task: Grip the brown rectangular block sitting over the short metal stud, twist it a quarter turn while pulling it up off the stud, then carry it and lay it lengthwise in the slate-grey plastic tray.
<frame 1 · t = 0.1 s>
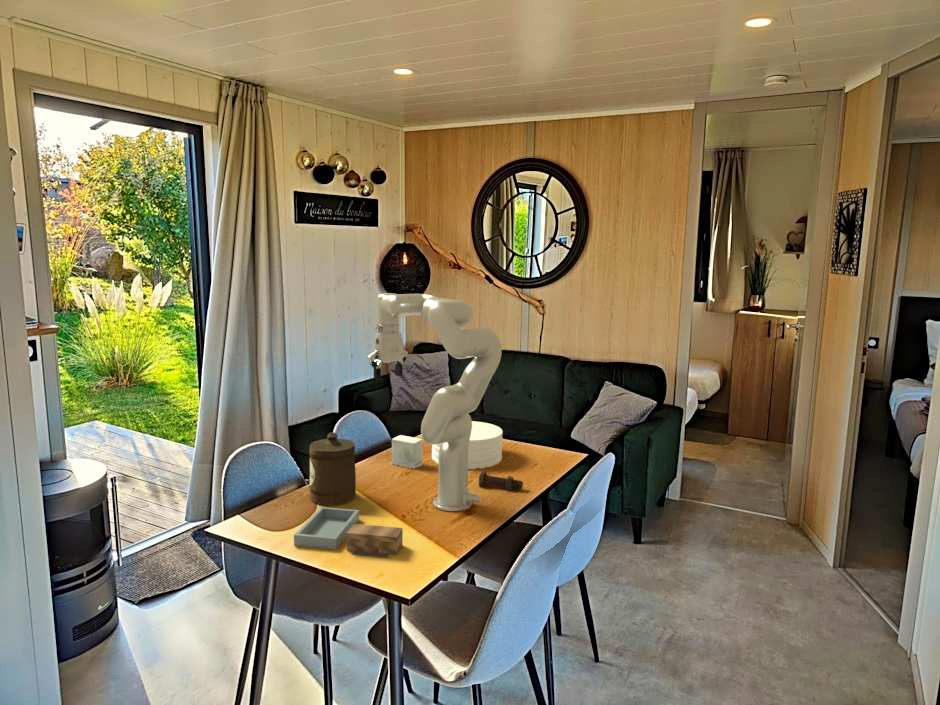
hand: (388, 377, 229), 37 cm above the table, tool pointing down, fingers open, 9 cm apart
stud base: (374, 551, 179), on the table
tray: (328, 535, 188), on the table
skincare box: (407, 465, 251), on the table
brown rectangular block: (374, 547, 179), point 1 cm above the table, touching stud base
plate stack: (466, 458, 261), on the table
bolt: (500, 489, 229), on the table
wooden container: (333, 497, 217), on the table
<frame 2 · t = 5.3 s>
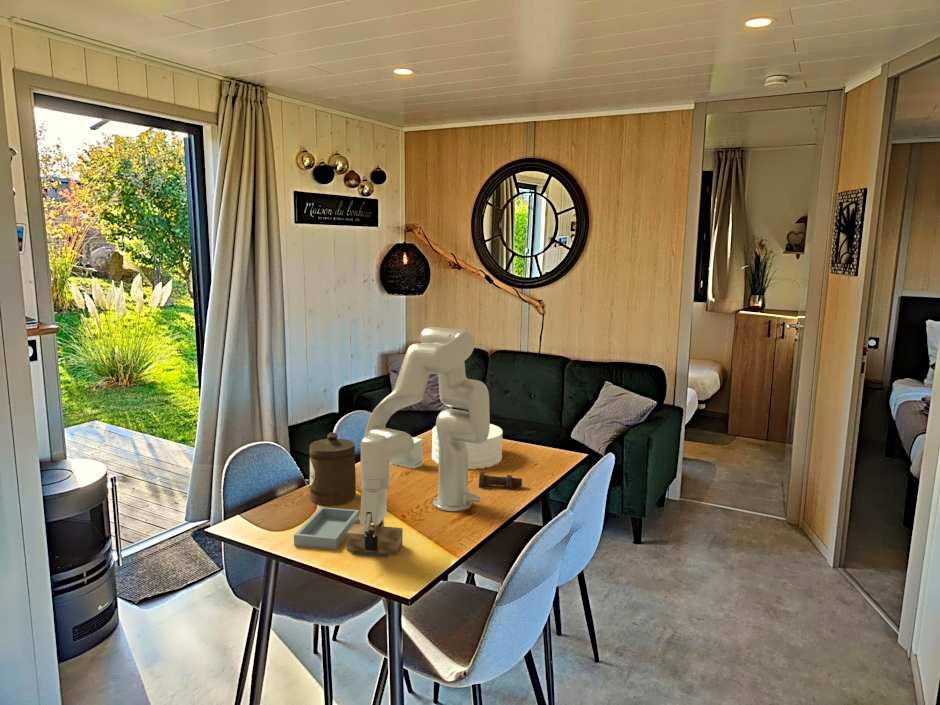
hand: (374, 543, 179), 2 cm above the table, tool pointing down, fingers closed on brown rectangular block, 6 cm apart
brown rectangular block: (374, 547, 179), point 1 cm above the table, touching gripper, stud base
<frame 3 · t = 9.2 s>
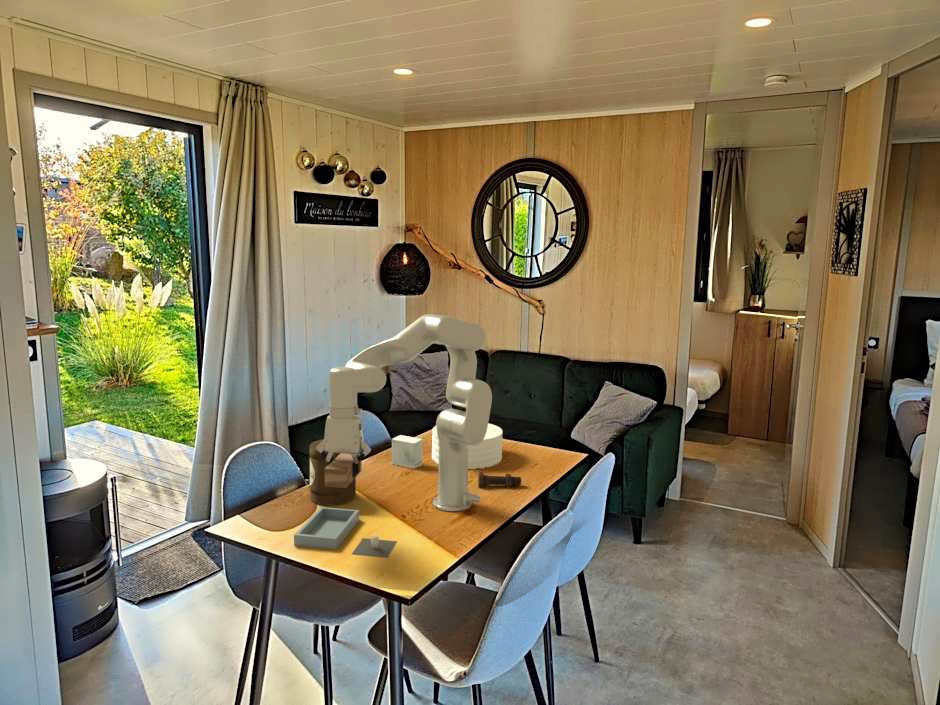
hand: (343, 474, 182), 20 cm above the table, tool pointing down, fingers closed on brown rectangular block, 6 cm apart
brown rectangular block: (343, 478, 182), point 19 cm above the table, touching gripper
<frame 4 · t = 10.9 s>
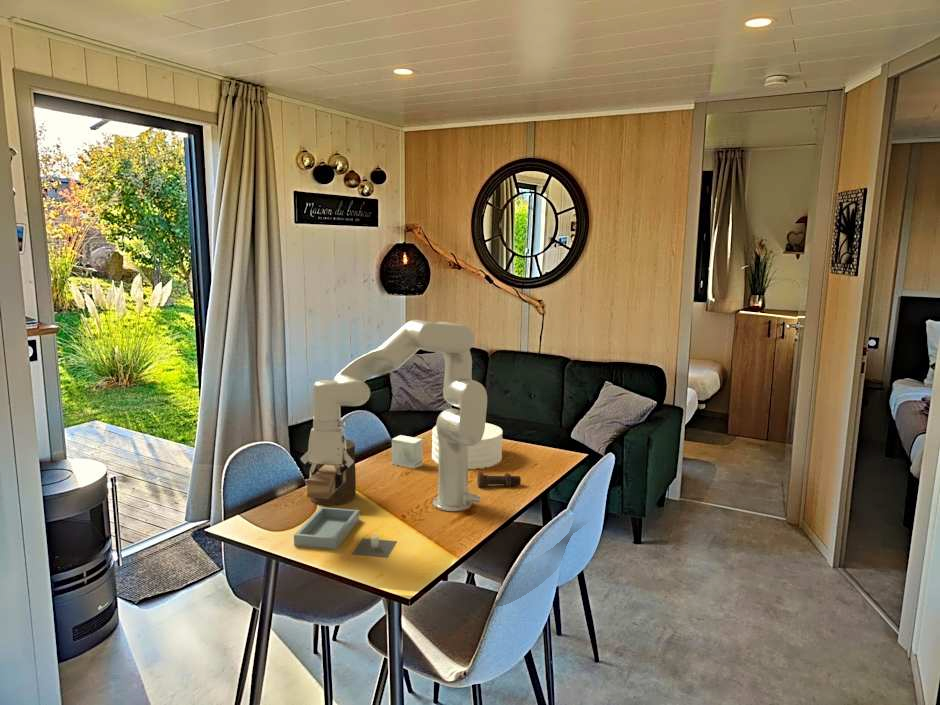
hand: (327, 485, 186), 15 cm above the table, tool pointing down, fingers closed on brown rectangular block, 6 cm apart
brown rectangular block: (327, 489, 186), point 14 cm above the table, touching gripper
when the fingers open (3 cm above the table, at t = 13.3 s): brown rectangular block drops 1 cm, resting on tray.
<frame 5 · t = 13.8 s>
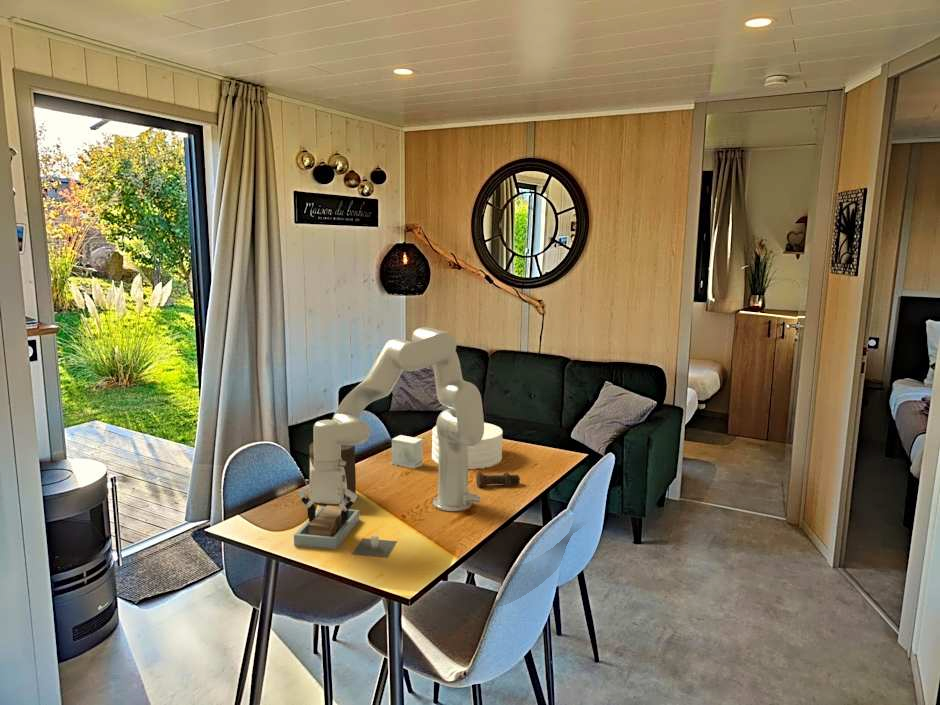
hand: (328, 521, 187), 4 cm above the table, tool pointing down, fingers open, 9 cm apart
brown rectangular block: (328, 531, 188), point 1 cm above the table, touching tray
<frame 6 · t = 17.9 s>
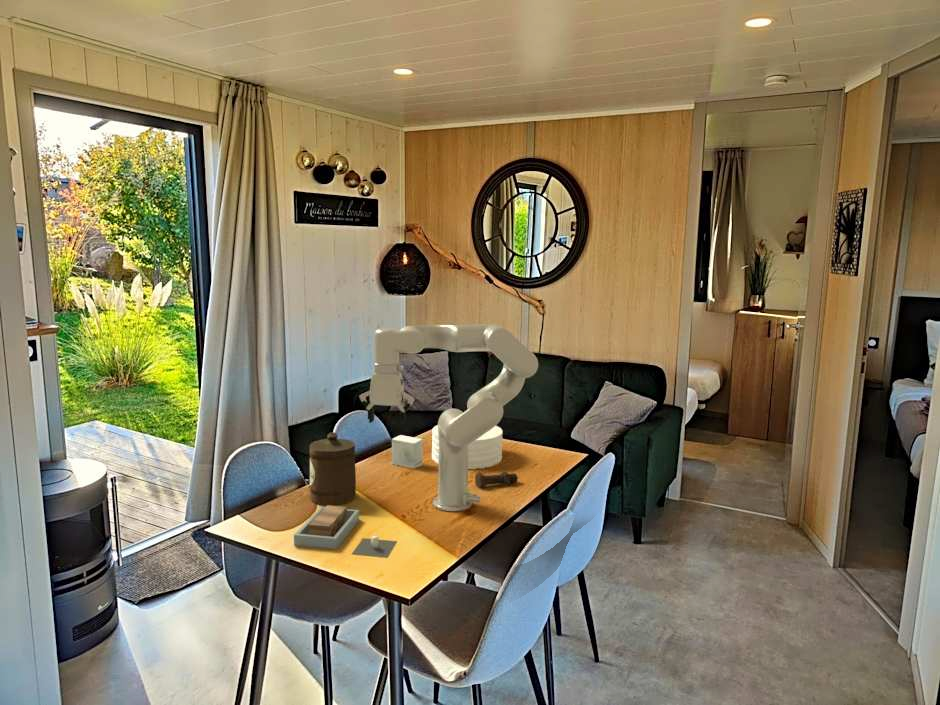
hand: (386, 422, 203), 28 cm above the table, tool pointing down, fingers open, 9 cm apart
at the end: brown rectangular block inside the target area on the tray (0.1 cm from its centre), point 1.0 cm above the tray's base; brown rectangular block tilted 0°; the gripper is holding nothing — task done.
